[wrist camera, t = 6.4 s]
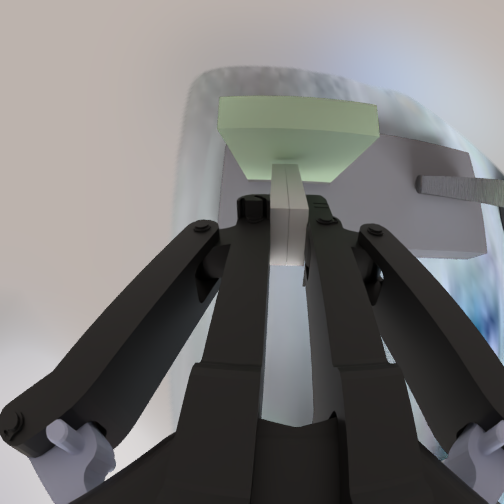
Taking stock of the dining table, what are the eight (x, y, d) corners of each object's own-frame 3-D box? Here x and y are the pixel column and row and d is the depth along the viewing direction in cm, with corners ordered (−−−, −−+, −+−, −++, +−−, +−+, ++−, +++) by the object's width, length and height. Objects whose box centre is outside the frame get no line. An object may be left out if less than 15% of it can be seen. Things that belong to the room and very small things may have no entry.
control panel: (466, 259, 25) (487, 253, 21) (224, 250, 27) (216, 241, 24) (452, 166, 27) (468, 152, 23) (233, 145, 30) (228, 125, 26)
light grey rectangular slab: (465, 200, 22) (557, 222, 9) (414, 193, 23) (509, 210, 10) (466, 184, 22) (558, 197, 9) (415, 174, 22) (511, 179, 10)
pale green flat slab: (327, 186, 24) (379, 139, 10) (249, 183, 24) (216, 130, 11) (327, 166, 23) (376, 103, 10) (249, 164, 24) (219, 95, 11)
